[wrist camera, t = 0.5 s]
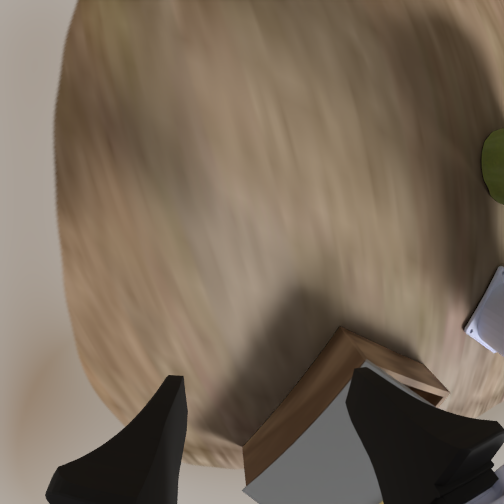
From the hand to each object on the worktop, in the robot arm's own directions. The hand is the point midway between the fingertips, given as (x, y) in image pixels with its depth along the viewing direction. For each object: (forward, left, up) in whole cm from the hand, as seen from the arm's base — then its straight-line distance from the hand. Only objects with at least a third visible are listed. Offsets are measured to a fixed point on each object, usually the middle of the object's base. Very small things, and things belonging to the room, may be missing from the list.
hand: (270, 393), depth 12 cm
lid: (-12, +7, -1) cm, 14 cm away
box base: (-14, +7, -10) cm, 18 cm away
